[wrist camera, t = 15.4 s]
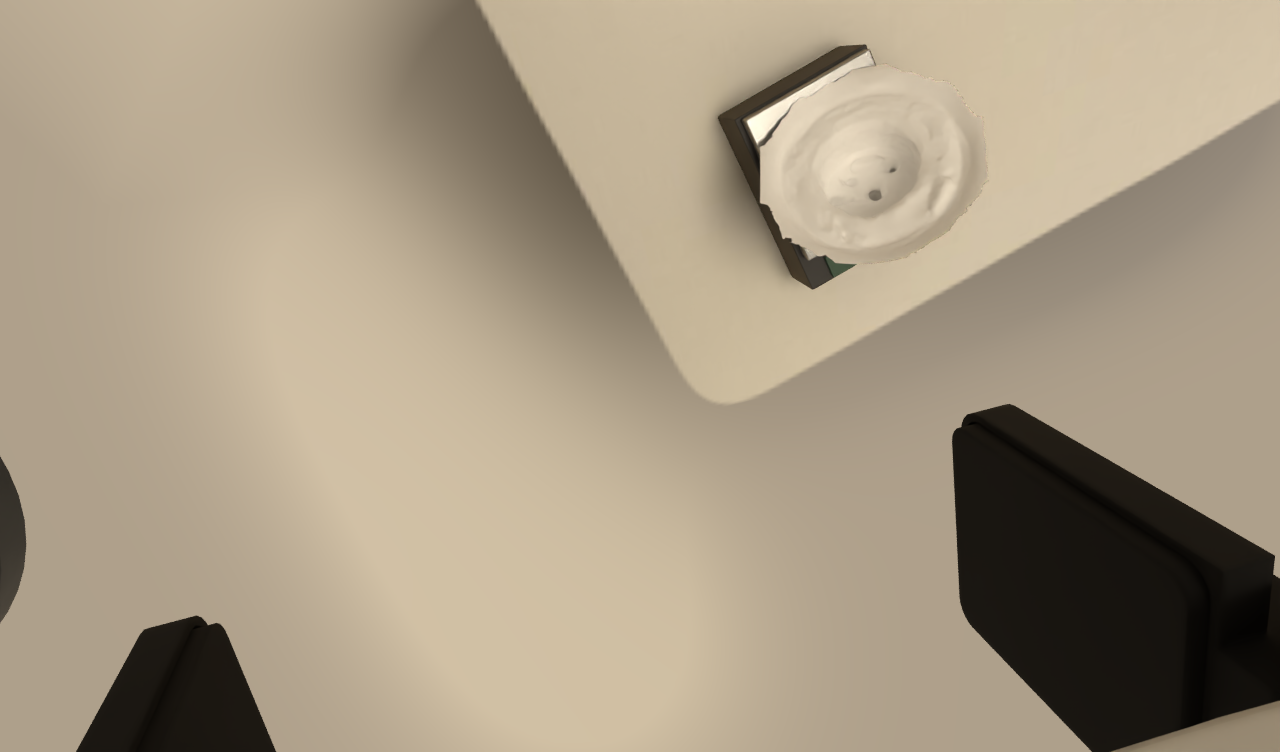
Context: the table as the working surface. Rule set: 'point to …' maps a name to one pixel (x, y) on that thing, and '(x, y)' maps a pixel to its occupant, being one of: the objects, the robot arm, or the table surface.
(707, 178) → the table surface
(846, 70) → the scale pan
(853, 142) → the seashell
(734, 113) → the scale
